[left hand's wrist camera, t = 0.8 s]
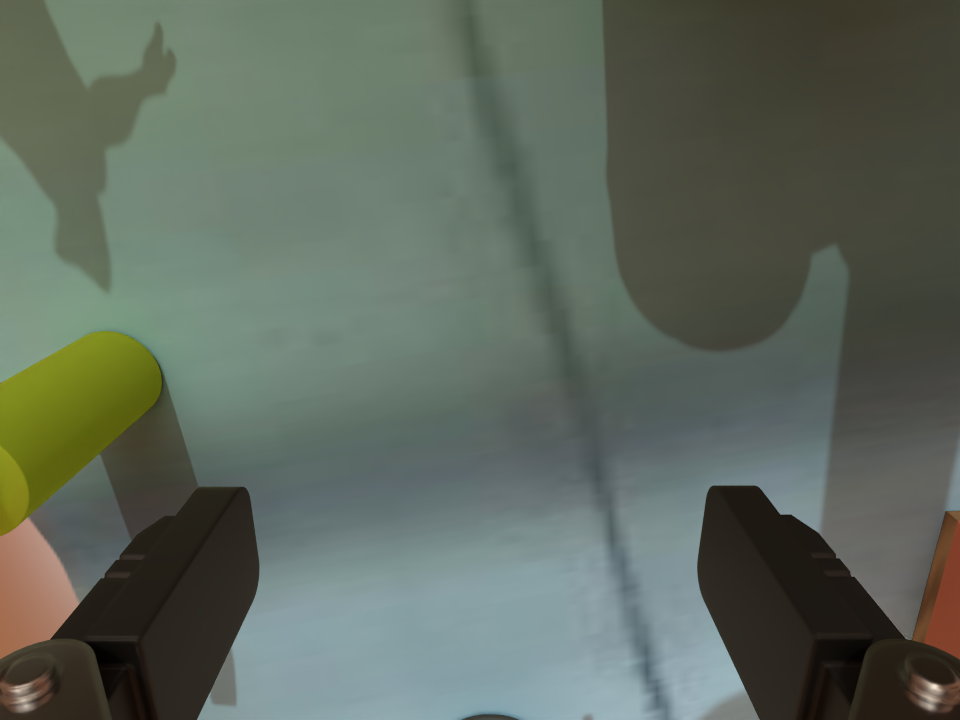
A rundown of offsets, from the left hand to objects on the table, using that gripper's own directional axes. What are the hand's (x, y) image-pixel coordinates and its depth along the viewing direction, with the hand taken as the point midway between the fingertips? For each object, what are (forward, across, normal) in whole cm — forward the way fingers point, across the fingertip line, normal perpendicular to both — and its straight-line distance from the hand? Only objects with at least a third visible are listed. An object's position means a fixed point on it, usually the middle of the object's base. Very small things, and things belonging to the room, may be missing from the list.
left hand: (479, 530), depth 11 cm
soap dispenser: (+29, -23, -8) cm, 38 cm away
